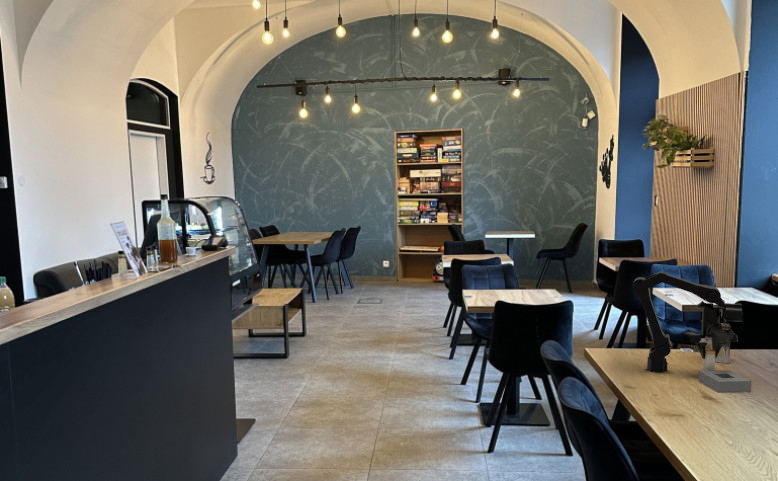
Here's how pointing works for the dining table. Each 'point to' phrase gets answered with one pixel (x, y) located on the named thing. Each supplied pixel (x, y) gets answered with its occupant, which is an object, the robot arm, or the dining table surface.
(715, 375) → the header
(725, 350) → the coffee box
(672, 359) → the dining table surface
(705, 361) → the plug
